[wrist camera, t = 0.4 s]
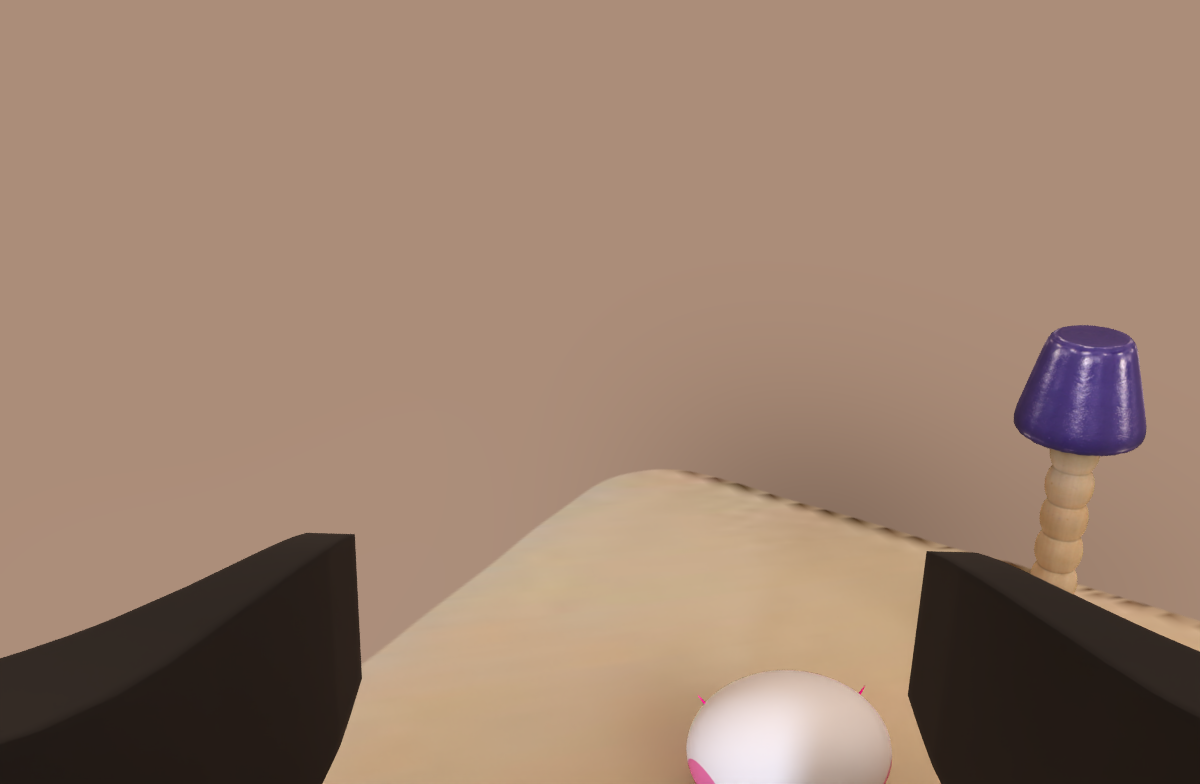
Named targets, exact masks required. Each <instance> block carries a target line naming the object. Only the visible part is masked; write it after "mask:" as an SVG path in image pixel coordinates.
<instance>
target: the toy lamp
mask: <svg viewBox="0 0 1200 784" xmlns="http://www.w3.org/2000/svg"><path fill="white" fill-rule="evenodd" d="M1014 424H1015V426H1016V428H1017V429H1018V430H1019V432H1020V433H1021V434H1022V435H1024V436H1025V437H1026V438H1028V439H1030V440H1032V441H1033V442H1034V443H1036V444H1039V445H1042V446H1044V447H1047V448H1050V458H1051V461H1052V464H1053V465H1052V466H1051V467H1050V468H1049V470H1048V472H1047V475H1046V478H1045V492H1046V495H1047V499H1046V500H1045V501H1044V503H1043V505H1042V507H1041V511H1040V524H1041V527H1042V530H1041V531H1040V533H1039V534H1038V536H1037V538H1036V542H1035V548H1034V552H1035V556H1036V559H1037V561H1036V562H1035V563H1034V565H1033V567H1032V569H1031V572H1030V574H1032V575H1034V576H1036V577H1038V578H1040V579H1042V580H1044V581H1046V582H1048V583H1051V584H1053V585H1055V586H1057V587H1059V588H1061V589H1063V590H1065V591H1067V592H1069V593H1071V594H1074V592H1075V590H1076V587H1077V574H1076V571H1075V568H1076V567H1077V566H1078V565H1079V563H1080V561H1081V558H1082V555H1083V544H1082V540H1081V536H1082V534H1083V533H1084V532H1085V530H1086V528H1087V524H1088V517H1089V515H1088V509H1087V506H1086V504H1087V503H1088V502H1089V500H1090V499H1091V497H1092V495H1093V492H1094V487H1095V483H1094V476H1093V473H1092V471H1093V469H1094V468H1095V467H1096V465H1097V464H1098V462H1099V458H1100V456H1108V455H1109V456H1110V455H1117V454H1120V453H1127V452H1129V451H1131V450H1134V449H1135V448H1137V447H1138V446H1139V445H1140V444H1141V443H1142V442H1143V440H1144V438H1145V435H1146V418H1145V409H1144V399H1143V389H1142V382H1141V375H1140V365H1139V356H1138V350H1137V346H1136V344H1135V342H1134V341H1133V340H1132V338H1130V336H1128V335H1127V334H1125V333H1123V332H1120V331H1117V330H1114V329H1110V328H1105V327H1098V326H1088V325H1087V326H1086V325H1078V326H1067V327H1062V328H1060V329H1057V330H1055V331H1054V332H1052V333H1051V335H1050V336H1049V337H1048V339H1047V341H1046V342H1045V344H1044V346H1043V348H1042V351H1041V353H1040V355H1039V357H1038V359H1037V361H1036V364H1035V366H1034V368H1033V370H1032V372H1031V374H1030V377H1029V379H1028V381H1027V384H1026V386H1025V388H1024V390H1023V392H1022V395H1021V397H1020V399H1019V401H1018V403H1017V406H1016V409H1015V413H1014Z"/></svg>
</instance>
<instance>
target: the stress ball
mask: <svg viewBox="0 0 1200 784" xmlns="http://www.w3.org/2000/svg"><path fill="white" fill-rule="evenodd" d="M864 687H865V686H864ZM864 687H863V689H864ZM863 689H862V690H861V691H860V692H859V693H858V692H856V691H855V690H853V689H852V688H850V687H848V686H847V685H845V684H843V683H841V682H839V681H837V680H834V679H832V678H829V677H827V676H823V675H820V674H816V673H811V672H806V671H796V670H774V671H766V672H760V673H756V674H752V675H749V676H746V677H743V678H740V679H738V680H735V681H733V682H731V683H729V684H728V685H726V686H724V687H723V688H721V689H720V690H718V691H717V692H716V693H714V694H713V695H712V696H711V697H710V698H709V699H708V700H707V701H706V702H705V701H704V700H703V699H702V698H700V697H699V698H700V699H701V701H702V702H703V703H704V704H703V705H702V707H701V708H700V709H699V711H698V712H697V714H696V715H695V717H694V719H693V721H692V724H691V727H690V730H689V733H688V738H687V750H686V753H687V760H688V765H689V768H690V772H691V774H692V776H693V778H694V781H695V782H696V784H885V783H886V781H887V778H888V776H889V773H890V769H891V763H892V747H891V741H890V736H889V733H888V730H887V728H886V726H885V724H884V722H883V720H882V718H881V717H880V715H879V714H878V712H877V711H876V710H875V708H874V707H873V706H872V705H871V704H870V703H869V702H868V701H867V700H866V699H865V698H864V697H863V696H861V693H862V691H863Z"/></svg>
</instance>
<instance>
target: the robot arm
mask: <svg viewBox="0 0 1200 784" xmlns="http://www.w3.org/2000/svg"><path fill="white" fill-rule="evenodd" d="M361 679H362V673H361V653H360V633H359V614H358V592H357V572H356V552H355V535H354V534H325V533H305V534H301V535H298V536H295V537H292V538H290V539H287V540H284V541H282V542H280V543H277V544H275V545H273V546H271V547H269V548H266V549H264V550H262V551H260V552H258V553H256V554H254V555H251V556H249V557H247V558H245V559H243V560H241V561H239V562H237V563H235V564H233V565H231V566H229V567H227V568H224V569H222V570H220V571H218V572H216V573H214V574H212V575H210V576H208V577H206V578H204V579H202V580H199V581H198V582H195V583H193V584H191V585H189V586H187V587H185V588H182V589H180V590H178V591H176V592H173V593H171V594H169V595H166V596H164V597H162V598H160V599H157V600H155V601H153V602H150V603H148V604H146V605H144V606H142V607H139V608H137V609H134V610H132V611H130V612H127V613H125V614H123V615H121V616H118V617H116V618H114V619H111V620H109V621H106V622H104V623H101V624H99V625H96V626H94V627H91V628H88V629H85V630H83V631H80V632H78V633H75V634H72V635H70V636H67V637H64V638H61V639H58V640H55V641H52V642H49V643H46V644H43V645H40V646H37V647H35V648H32V649H28V650H26V651H23V652H20V653H16V654H13V655H10V656H7V657H4V658H0V784H322V783H323V781H324V779H325V777H326V775H327V773H328V771H329V769H330V767H331V764H332V762H333V760H334V758H335V756H336V754H337V752H338V749H339V747H340V745H341V742H342V739H343V736H344V733H345V730H346V727H347V724H348V721H349V718H350V715H351V712H352V708H353V705H354V702H355V699H356V695H357V692H358V689H359V686H360V682H361ZM908 697H909V700H910V703H911V706H912V709H913V712H914V715H915V718H916V721H917V724H918V727H919V730H920V733H921V736H922V739H923V741H924V744H925V747H926V750H927V752H928V755H929V758H930V760H931V763H932V766H933V768H934V770H935V772H936V774H937V776H938V778H939V780H940V782H941V784H1200V652H1199V651H1197V650H1194V649H1192V648H1190V647H1187V646H1185V645H1183V644H1180V643H1178V642H1176V641H1173V640H1171V639H1169V638H1166V637H1164V636H1162V635H1159V634H1157V633H1155V632H1153V631H1150V630H1148V629H1146V628H1144V627H1142V626H1139V625H1137V624H1135V623H1133V622H1131V621H1128V620H1126V619H1124V618H1122V617H1120V616H1118V615H1115V614H1113V613H1111V612H1109V611H1107V610H1105V609H1103V608H1101V607H1099V606H1096V605H1094V604H1092V603H1090V602H1088V601H1086V600H1084V599H1082V598H1080V597H1078V596H1076V595H1074V594H1071V593H1069V592H1067V591H1065V590H1063V589H1061V588H1059V587H1057V586H1055V585H1053V584H1051V583H1048V582H1046V581H1044V580H1042V579H1040V578H1038V577H1036V576H1034V575H1032V574H1029V573H1027V572H1025V571H1023V570H1021V569H1018V568H1016V567H1014V566H1011V565H1009V564H1007V563H1004V562H1002V561H999V560H997V559H994V558H991V557H989V556H985V555H982V554H979V553H967V552H933V551H927V553H926V561H925V569H924V576H923V584H922V592H921V599H920V607H919V614H918V622H917V630H916V637H915V645H914V653H913V660H912V668H911V676H910V683H909V691H908Z"/></svg>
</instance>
